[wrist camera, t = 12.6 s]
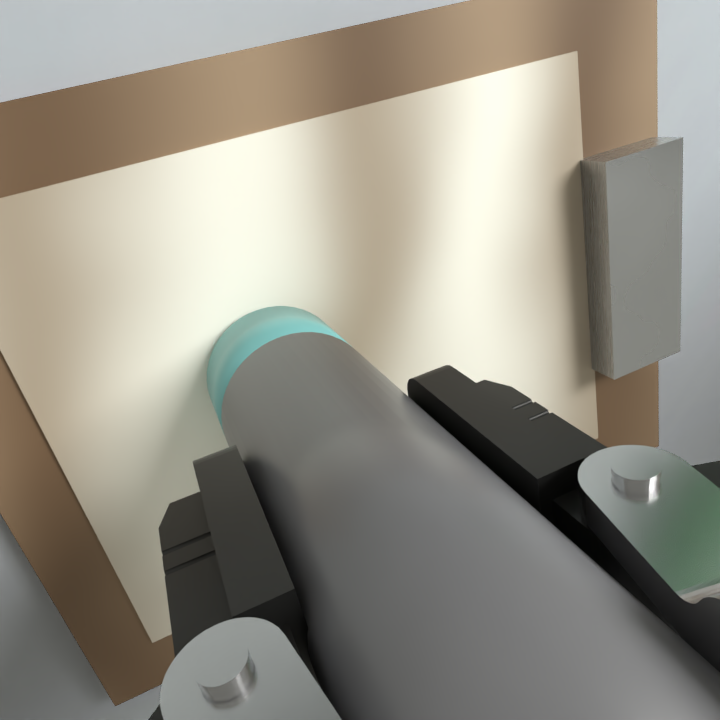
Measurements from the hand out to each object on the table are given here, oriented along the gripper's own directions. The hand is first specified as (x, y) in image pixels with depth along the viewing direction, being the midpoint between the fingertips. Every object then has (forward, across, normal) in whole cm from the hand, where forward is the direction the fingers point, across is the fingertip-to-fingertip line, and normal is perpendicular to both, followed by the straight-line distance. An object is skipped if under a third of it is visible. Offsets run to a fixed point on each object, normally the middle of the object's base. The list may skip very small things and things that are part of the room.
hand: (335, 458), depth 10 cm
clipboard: (+5, -2, 0) cm, 6 cm away
